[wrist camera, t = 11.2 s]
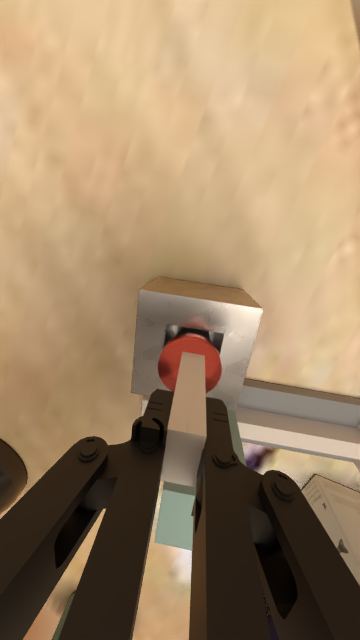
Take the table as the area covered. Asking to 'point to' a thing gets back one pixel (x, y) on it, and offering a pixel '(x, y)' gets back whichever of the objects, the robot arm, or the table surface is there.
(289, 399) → the rail
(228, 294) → the grey boxy piece
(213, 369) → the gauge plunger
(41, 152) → the table surface
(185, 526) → the sage green rectangular prism
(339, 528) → the supplement box
